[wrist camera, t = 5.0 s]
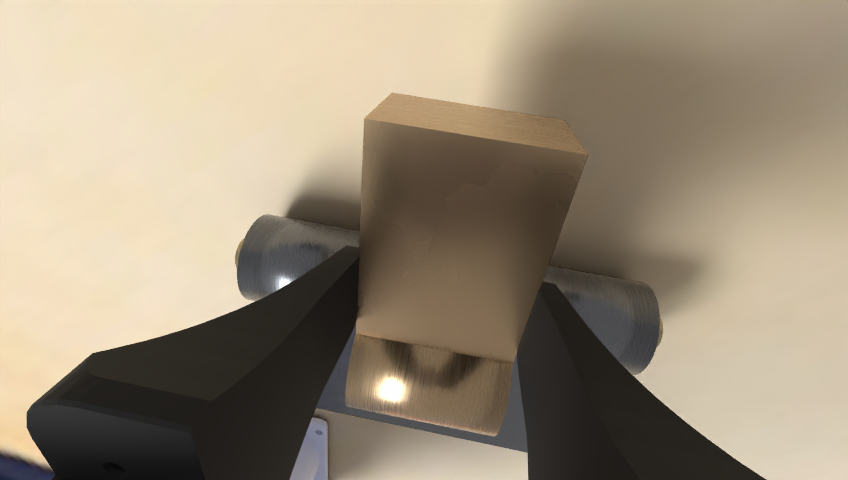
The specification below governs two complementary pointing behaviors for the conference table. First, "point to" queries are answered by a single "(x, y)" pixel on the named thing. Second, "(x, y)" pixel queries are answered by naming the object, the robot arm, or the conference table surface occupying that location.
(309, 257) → the metal hinge
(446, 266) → the brown boxy piece
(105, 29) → the conference table surface
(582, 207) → the conference table surface
